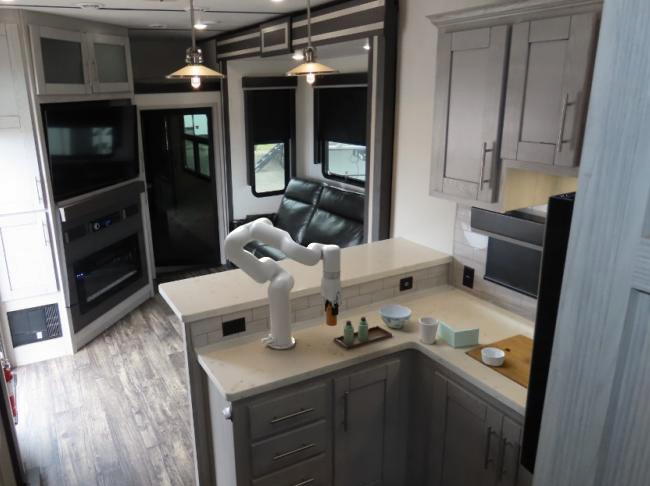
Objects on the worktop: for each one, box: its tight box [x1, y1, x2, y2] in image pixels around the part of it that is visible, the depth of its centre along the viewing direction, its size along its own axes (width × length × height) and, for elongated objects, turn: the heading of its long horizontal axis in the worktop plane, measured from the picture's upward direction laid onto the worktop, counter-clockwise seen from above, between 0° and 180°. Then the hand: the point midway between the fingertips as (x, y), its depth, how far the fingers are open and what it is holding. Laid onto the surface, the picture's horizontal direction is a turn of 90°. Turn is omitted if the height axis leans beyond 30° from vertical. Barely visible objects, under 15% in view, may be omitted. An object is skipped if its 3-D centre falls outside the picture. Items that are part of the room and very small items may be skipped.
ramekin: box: [480, 347, 506, 367], centre depth 209 cm, size 9×9×4 cm
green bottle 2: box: [357, 316, 369, 341], centre depth 232 cm, size 5×5×10 cm
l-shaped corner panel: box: [438, 320, 480, 349], centre depth 228 cm, size 12×12×8 cm
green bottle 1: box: [342, 320, 355, 345], centre depth 229 cm, size 5×5×10 cm
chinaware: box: [378, 304, 412, 330], centre depth 245 cm, size 15×15×8 cm
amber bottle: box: [325, 301, 338, 327], centre depth 222 cm, size 5×5×10 cm
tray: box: [333, 325, 393, 351], centre depth 233 cm, size 25×10×2 cm, turn 116°
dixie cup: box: [418, 316, 440, 345], centre depth 228 cm, size 8×8×10 cm
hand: (331, 312), depth 222 cm, fingers closed on amber bottle, 4 cm apart
